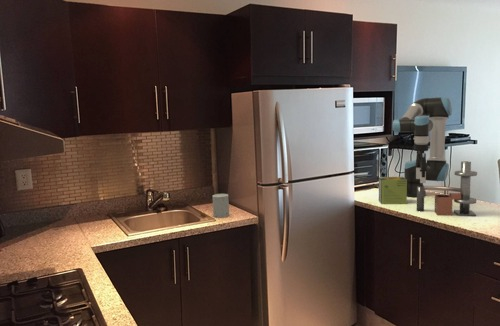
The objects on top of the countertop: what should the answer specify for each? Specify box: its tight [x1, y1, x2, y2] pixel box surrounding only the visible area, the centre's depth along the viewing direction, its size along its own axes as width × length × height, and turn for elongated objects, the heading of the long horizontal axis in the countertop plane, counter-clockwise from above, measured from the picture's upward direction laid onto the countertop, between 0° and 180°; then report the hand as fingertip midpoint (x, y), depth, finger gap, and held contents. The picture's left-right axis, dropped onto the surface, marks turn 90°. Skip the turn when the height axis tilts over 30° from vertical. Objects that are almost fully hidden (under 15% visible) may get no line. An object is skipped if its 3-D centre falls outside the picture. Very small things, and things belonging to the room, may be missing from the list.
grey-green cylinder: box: [211, 193, 230, 219], centre depth 251 cm, size 10×10×12 cm
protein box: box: [378, 176, 408, 205], centre depth 267 cm, size 10×15×16 cm
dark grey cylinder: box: [416, 186, 425, 213], centre depth 244 cm, size 4×4×14 cm
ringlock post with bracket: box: [434, 160, 478, 217], centre depth 234 cm, size 11×20×29 cm, turn 78°
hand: (420, 180), depth 243 cm, fingers open, 13 cm apart
